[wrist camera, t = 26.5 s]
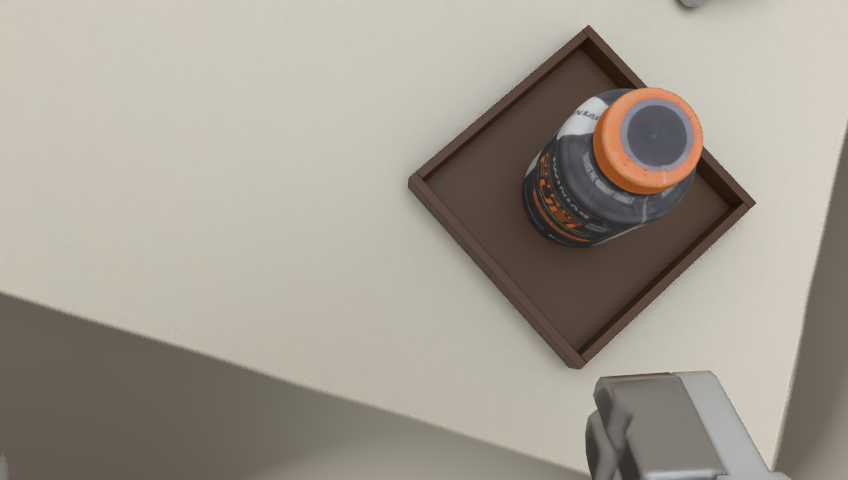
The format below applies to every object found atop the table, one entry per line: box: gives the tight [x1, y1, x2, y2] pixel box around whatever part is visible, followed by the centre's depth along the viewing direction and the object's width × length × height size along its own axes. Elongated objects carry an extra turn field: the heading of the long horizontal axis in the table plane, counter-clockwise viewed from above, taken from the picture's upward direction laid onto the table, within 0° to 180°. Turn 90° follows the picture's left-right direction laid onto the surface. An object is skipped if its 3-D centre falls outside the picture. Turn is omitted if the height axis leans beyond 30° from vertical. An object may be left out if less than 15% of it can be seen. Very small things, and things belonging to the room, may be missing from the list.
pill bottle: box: [522, 88, 703, 248], centre depth 32 cm, size 6×6×11 cm
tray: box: [408, 25, 756, 369], centre depth 37 cm, size 13×13×2 cm
